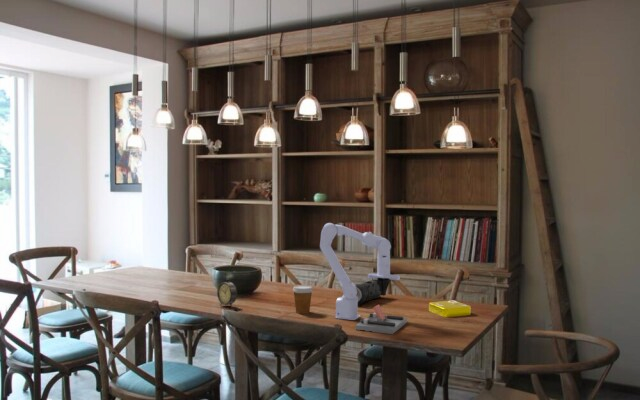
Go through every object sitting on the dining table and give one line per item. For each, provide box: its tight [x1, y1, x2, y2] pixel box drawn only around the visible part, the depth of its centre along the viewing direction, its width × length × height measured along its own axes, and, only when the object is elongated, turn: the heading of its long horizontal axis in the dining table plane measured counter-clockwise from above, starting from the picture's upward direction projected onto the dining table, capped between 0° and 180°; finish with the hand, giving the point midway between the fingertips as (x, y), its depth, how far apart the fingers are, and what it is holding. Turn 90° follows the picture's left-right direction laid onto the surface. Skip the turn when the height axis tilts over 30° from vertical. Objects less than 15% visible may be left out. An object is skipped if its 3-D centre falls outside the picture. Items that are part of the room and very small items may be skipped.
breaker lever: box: [372, 304, 385, 320], centre depth 247 cm, size 1×5×6 cm, turn 155°
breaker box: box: [355, 311, 408, 335], centre depth 246 cm, size 16×22×4 cm
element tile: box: [428, 299, 472, 318], centre depth 272 cm, size 15×15×5 cm
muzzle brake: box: [354, 278, 382, 305], centre depth 298 cm, size 10×28×10 cm, turn 147°
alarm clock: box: [216, 273, 238, 309], centre depth 284 cm, size 11×5×16 cm, turn 47°
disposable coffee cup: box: [292, 284, 314, 315], centre depth 272 cm, size 10×10×12 cm
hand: (383, 295), depth 261 cm, fingers closed
